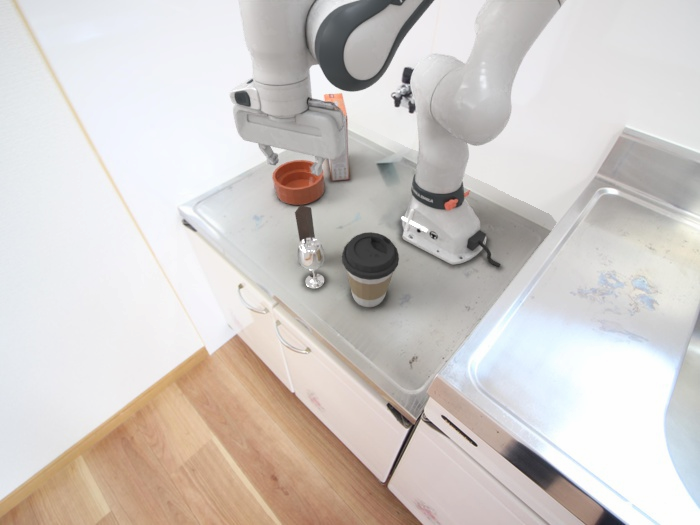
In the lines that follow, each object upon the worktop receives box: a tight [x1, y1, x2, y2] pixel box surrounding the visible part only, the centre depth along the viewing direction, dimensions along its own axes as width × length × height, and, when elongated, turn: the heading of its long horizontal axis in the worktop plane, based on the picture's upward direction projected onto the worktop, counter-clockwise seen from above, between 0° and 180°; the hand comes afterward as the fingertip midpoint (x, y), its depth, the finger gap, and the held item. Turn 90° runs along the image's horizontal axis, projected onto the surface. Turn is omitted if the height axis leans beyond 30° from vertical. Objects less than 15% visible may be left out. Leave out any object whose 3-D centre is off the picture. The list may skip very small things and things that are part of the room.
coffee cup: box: [341, 232, 400, 308], centre depth 71 cm, size 11×11×15 cm
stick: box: [294, 204, 316, 242], centre depth 78 cm, size 3×3×16 cm
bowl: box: [271, 159, 325, 206], centre depth 101 cm, size 15×15×6 cm
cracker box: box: [323, 93, 350, 182], centre depth 103 cm, size 14×6×21 cm, turn 6°
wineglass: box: [297, 237, 326, 290], centre depth 75 cm, size 6×6×12 cm
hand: (294, 168), depth 65 cm, fingers open, 8 cm apart
